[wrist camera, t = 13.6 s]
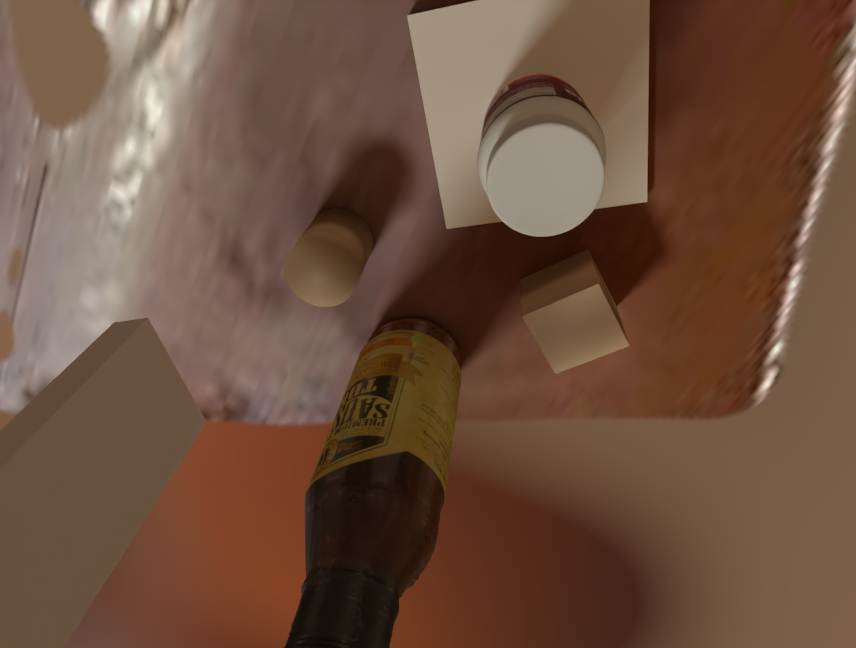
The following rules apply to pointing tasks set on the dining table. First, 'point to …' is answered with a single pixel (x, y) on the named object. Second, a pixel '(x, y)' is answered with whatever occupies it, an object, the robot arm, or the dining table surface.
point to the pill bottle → (541, 156)
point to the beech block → (571, 312)
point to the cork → (329, 257)
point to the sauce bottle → (378, 487)
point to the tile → (524, 54)
